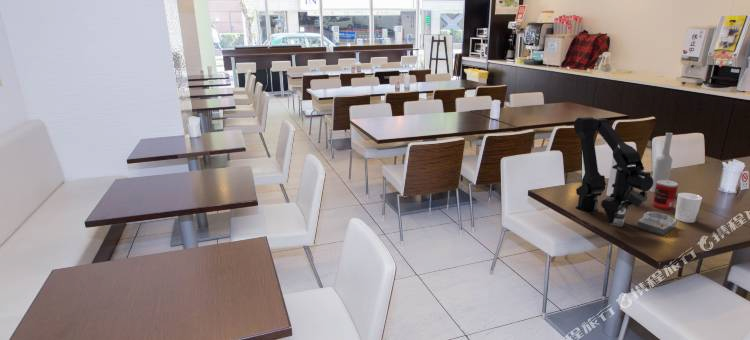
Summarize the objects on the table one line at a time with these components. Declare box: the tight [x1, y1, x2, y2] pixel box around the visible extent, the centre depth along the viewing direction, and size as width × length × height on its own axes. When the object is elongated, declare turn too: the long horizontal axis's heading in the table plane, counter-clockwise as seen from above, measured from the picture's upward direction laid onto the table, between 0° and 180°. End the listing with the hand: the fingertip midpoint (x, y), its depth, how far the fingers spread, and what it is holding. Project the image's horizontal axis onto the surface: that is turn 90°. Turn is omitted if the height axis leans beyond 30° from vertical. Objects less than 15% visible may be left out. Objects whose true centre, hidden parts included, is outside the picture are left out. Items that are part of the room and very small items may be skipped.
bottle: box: [649, 132, 674, 194], centre depth 203 cm, size 7×7×28 cm
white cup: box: [674, 192, 703, 224], centre depth 175 cm, size 8×8×10 cm
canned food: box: [652, 179, 679, 211], centre depth 188 cm, size 8×8×11 cm
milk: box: [606, 157, 633, 199], centre depth 198 cm, size 6×6×22 cm
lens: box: [608, 206, 627, 228], centre depth 172 cm, size 5×5×7 cm
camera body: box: [636, 211, 678, 236], centre depth 169 cm, size 9×12×4 cm
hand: (616, 220), depth 172 cm, fingers open, 9 cm apart
